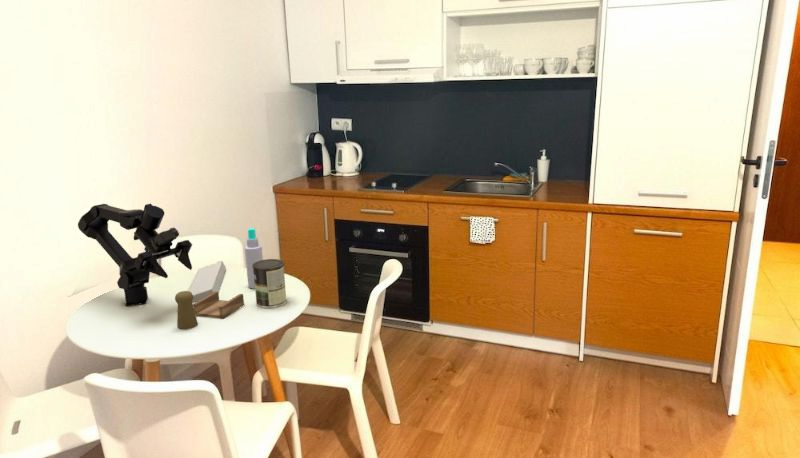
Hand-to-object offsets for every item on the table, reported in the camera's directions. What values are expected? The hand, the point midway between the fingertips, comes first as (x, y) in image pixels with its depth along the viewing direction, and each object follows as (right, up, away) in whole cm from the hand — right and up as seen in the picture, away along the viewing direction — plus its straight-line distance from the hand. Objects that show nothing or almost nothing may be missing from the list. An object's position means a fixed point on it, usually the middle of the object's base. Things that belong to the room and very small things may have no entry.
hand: (179, 272), depth 180 cm
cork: (+4, -16, -4) cm, 17 cm away
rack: (+11, -13, +7) cm, 18 cm away
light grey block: (-2, -8, +32) cm, 33 cm away
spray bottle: (+17, -7, +29) cm, 34 cm away
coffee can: (+27, -11, +12) cm, 32 cm away
